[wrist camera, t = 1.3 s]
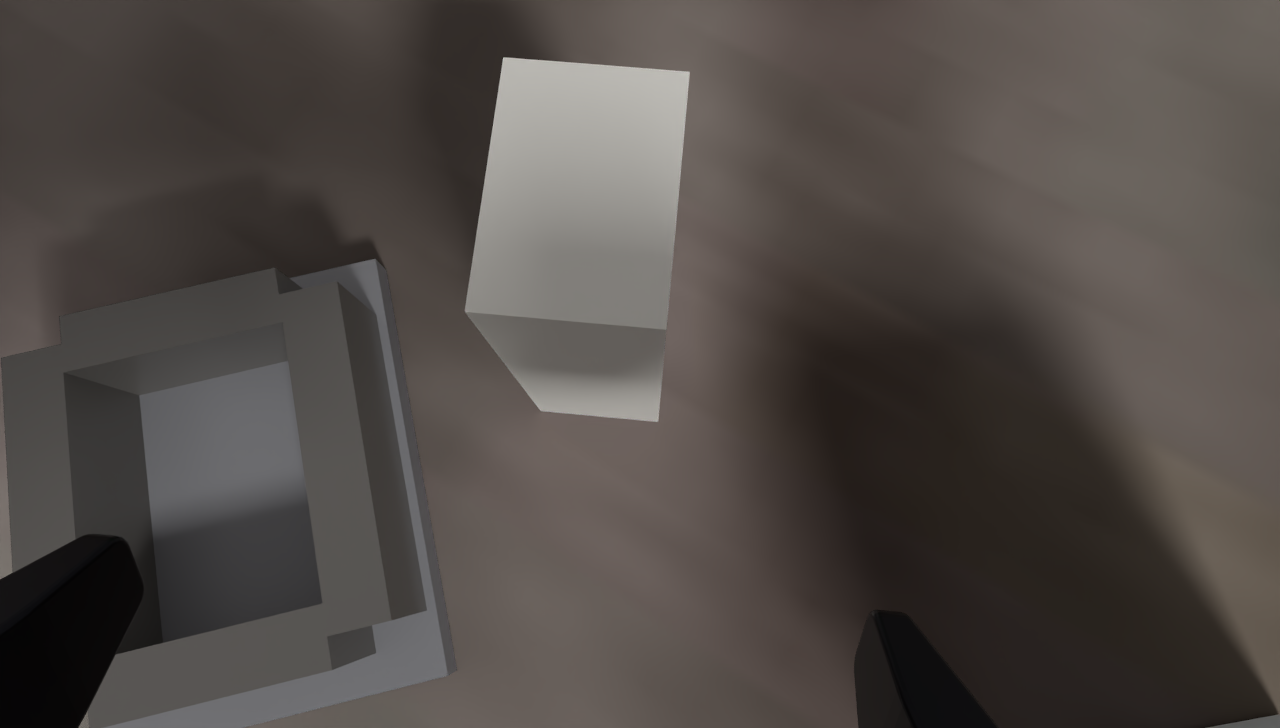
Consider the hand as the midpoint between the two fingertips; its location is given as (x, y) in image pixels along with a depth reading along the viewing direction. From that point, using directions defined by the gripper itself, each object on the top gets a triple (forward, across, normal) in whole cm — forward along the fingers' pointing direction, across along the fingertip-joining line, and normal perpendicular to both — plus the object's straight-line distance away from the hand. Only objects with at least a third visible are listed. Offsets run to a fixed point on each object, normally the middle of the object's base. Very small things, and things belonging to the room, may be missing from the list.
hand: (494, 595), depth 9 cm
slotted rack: (+10, +9, +8) cm, 16 cm away
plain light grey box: (+14, 0, +4) cm, 15 cm away
